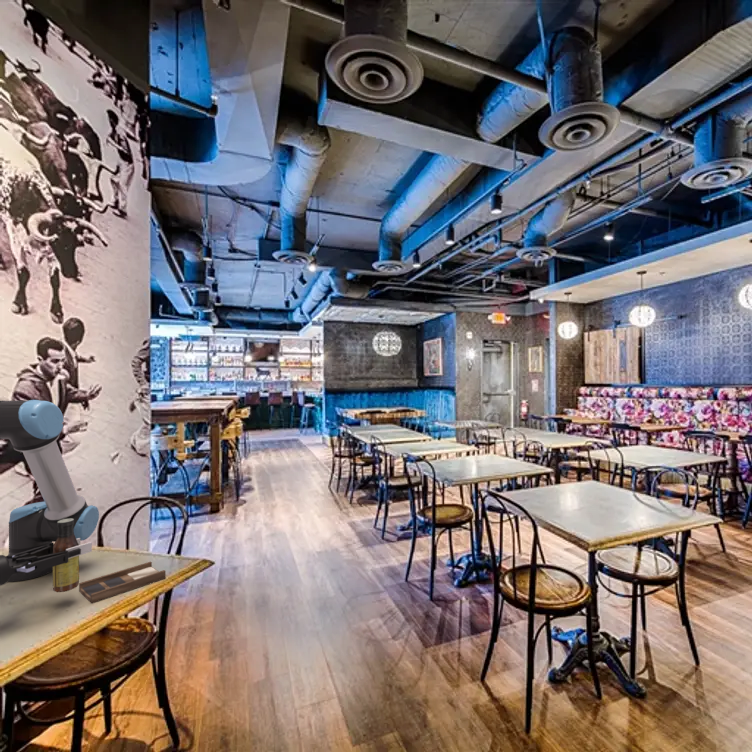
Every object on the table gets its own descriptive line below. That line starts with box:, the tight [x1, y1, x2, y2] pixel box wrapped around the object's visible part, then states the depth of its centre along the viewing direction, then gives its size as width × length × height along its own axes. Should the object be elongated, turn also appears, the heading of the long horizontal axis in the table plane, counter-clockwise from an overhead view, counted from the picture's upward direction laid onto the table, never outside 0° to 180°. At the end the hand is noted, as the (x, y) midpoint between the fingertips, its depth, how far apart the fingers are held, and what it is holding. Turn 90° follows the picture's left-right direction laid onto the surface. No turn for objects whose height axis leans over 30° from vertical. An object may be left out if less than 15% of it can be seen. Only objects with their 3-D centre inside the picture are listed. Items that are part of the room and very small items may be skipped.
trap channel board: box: [78, 561, 166, 604], centre depth 133 cm, size 12×21×2 cm, turn 140°
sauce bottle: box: [52, 518, 80, 593], centre depth 122 cm, size 6×6×20 cm
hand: (85, 544), depth 126 cm, fingers closed on sauce bottle, 6 cm apart
